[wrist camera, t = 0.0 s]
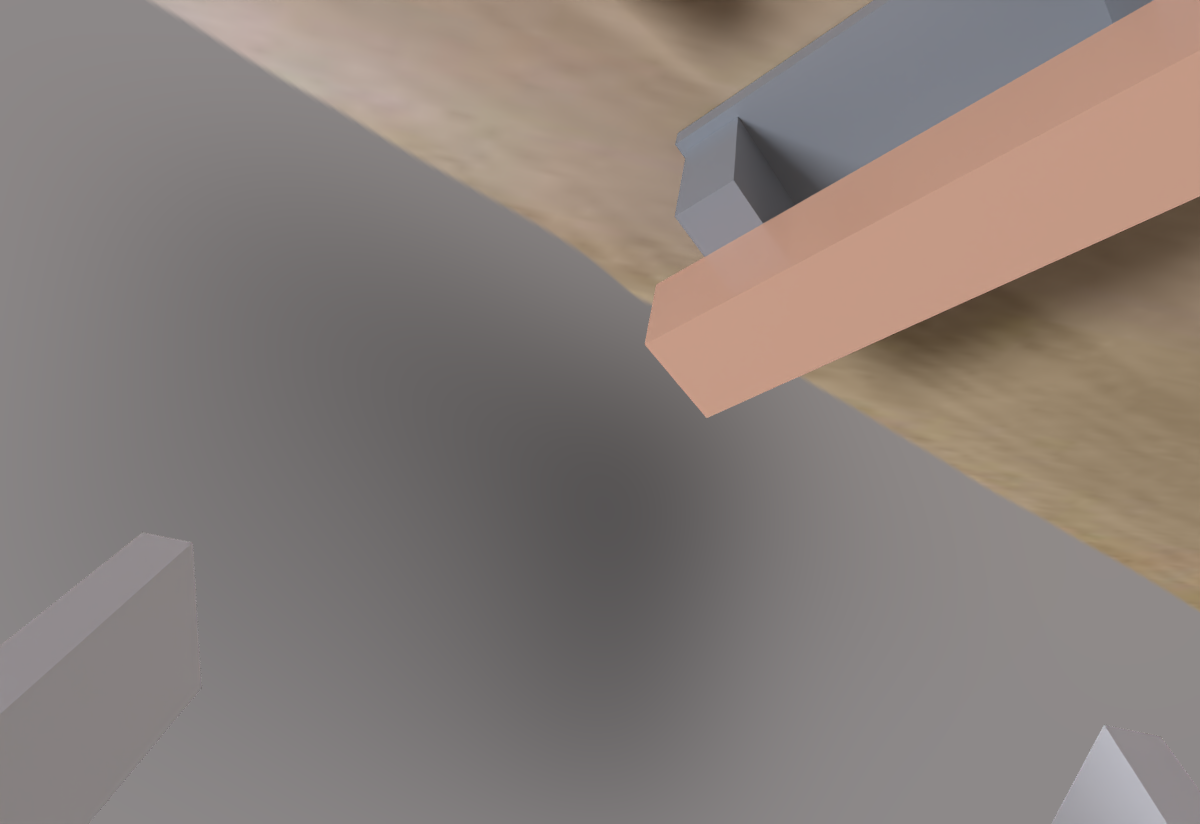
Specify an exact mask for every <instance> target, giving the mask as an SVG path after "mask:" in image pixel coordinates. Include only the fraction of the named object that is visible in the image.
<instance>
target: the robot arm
mask: <svg viewBox="0 0 1200 824" xmlns="http://www.w3.org/2000/svg"><path fill="white" fill-rule="evenodd" d="M201 688H202V685H201V668H200V652H199V637H198V621H197V605H196V589H195V574H194V558H193V543H192V542H188V541H183V540H177V539H173V538H168V537H163V536H158V535H153V534H147V533H141V534H140V535H139V536H138V537H136V538H135V539H134V540H132V541H131V542H130V543H129V544H127V545H126V546H125V547H124V548H122V549H121V550H120V551H119V552H117V553H116V554H115V555H114V556H112V557H111V558H110V559H108V560H107V561H106V562H105V563H103V564H102V565H101V566H100V567H98V568H97V569H96V570H95V571H93V572H92V573H91V574H90V575H88V576H87V577H86V578H84V579H83V580H82V581H81V582H79V583H78V584H77V585H76V586H74V587H73V588H72V589H71V590H69V591H68V592H67V593H66V594H64V595H63V596H62V597H61V598H59V599H58V600H57V601H55V602H54V603H53V604H52V605H51V606H49V607H48V608H47V609H45V610H44V611H43V612H42V613H40V614H39V615H38V616H37V617H35V618H34V619H33V620H32V621H30V622H29V623H28V624H27V625H25V626H24V627H23V628H21V629H20V630H19V631H18V632H17V633H15V634H14V635H13V636H11V637H10V638H9V639H8V640H6V641H5V642H4V643H3V644H2V645H0V824H89V823H90V821H91V820H92V819H93V818H94V817H95V816H96V814H97V813H98V812H99V811H100V810H101V808H102V807H103V806H104V805H105V804H106V802H107V801H108V800H109V799H110V797H111V796H112V795H113V794H114V793H115V792H116V790H117V789H118V788H119V787H120V786H121V784H122V783H123V782H124V781H125V780H126V778H127V777H128V776H129V775H130V774H131V772H132V771H133V770H134V769H135V768H136V766H137V765H138V764H139V763H140V762H141V760H142V759H143V758H144V757H145V756H146V754H147V753H148V752H149V751H150V749H151V748H152V747H153V746H154V745H155V744H156V742H157V741H158V740H159V739H160V737H161V736H162V735H163V734H164V733H165V732H166V730H167V729H168V728H169V727H170V726H171V724H172V723H173V722H174V721H175V720H176V718H177V717H178V716H179V715H180V714H181V712H182V711H183V710H184V709H185V707H186V706H187V705H188V704H189V703H190V702H191V700H192V699H193V698H194V697H195V696H196V694H197V693H198V692H199V691H200V689H201ZM1051 824H1200V790H1199V789H1198V788H1197V786H1196V785H1195V783H1194V782H1193V781H1192V779H1191V778H1190V776H1189V775H1188V774H1187V772H1186V771H1185V770H1184V768H1183V767H1182V766H1181V764H1180V762H1179V761H1178V760H1177V758H1176V757H1175V756H1174V754H1173V753H1172V751H1171V750H1170V749H1169V747H1168V746H1167V744H1166V743H1165V742H1164V740H1163V739H1162V737H1161V736H1157V735H1152V734H1147V733H1142V732H1137V731H1132V730H1127V729H1122V728H1117V727H1112V726H1107V725H1104V726H1103V728H1102V730H1101V732H1100V733H1099V735H1098V737H1097V739H1096V741H1095V743H1094V745H1093V747H1092V748H1091V750H1090V753H1089V754H1088V756H1087V758H1086V760H1085V762H1084V764H1083V765H1082V767H1081V769H1080V771H1079V773H1078V775H1077V777H1076V778H1075V780H1074V782H1073V784H1072V786H1071V788H1070V790H1069V792H1068V793H1067V795H1066V797H1065V799H1064V801H1063V803H1062V805H1061V806H1060V808H1059V810H1058V812H1057V814H1056V816H1055V818H1054V820H1053V822H1052V823H1051Z"/></svg>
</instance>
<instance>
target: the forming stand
mask: <svg viewBox="0 0 1200 824" xmlns="http://www.w3.org/2000/svg"><path fill="white" fill-rule="evenodd" d="M1151 1H1153V0H873V1H872V2H870V3H869V4H868V5H866V6H865V7H863V8H862V9H860V10H859V11H857V12H856V13H854V14H853V15H851V16H850V17H848V18H847V19H845V20H844V21H842V22H841V23H840V24H838V25H837V26H835V27H834V28H832V29H831V30H829V31H828V32H826V33H825V34H823V35H822V36H820V37H819V38H817V39H816V40H815V41H813V42H812V43H810V44H809V45H807V46H806V47H804V48H803V49H801V50H800V51H798V52H797V53H795V54H794V55H792V56H791V57H789V58H788V59H787V60H785V61H784V62H782V63H781V64H779V65H778V66H776V67H775V68H773V69H772V70H770V71H769V72H767V73H766V74H764V75H763V76H761V77H760V78H759V79H757V80H756V81H754V82H753V83H751V84H750V85H748V86H747V87H745V88H744V89H742V90H741V91H739V92H738V93H736V94H735V95H734V96H732V97H731V98H729V99H728V100H726V101H725V102H723V103H722V104H720V105H719V106H717V107H716V108H714V109H713V110H711V111H710V112H708V113H707V114H706V115H704V116H703V117H701V118H700V119H698V120H697V121H695V122H694V123H692V124H691V125H689V126H688V127H686V128H685V129H683V130H682V131H681V132H679V133H678V134H677V139H676V144H675V145H676V146H677V147H678V149H679V150H680V152H681V153H682V155H683V156H684V157H685V164H684V169H683V174H682V180H681V185H680V191H679V196H678V201H677V207H676V212H675V217H676V219H677V220H678V221H679V223H680V224H681V226H682V227H683V228H684V230H685V231H686V232H687V234H688V235H689V236H690V238H691V239H692V240H693V242H694V243H695V244H696V246H697V247H698V248H699V250H700V251H701V253H702V254H703V255H704V257H706V256H707V255H709V254H711V253H712V252H714V251H716V250H718V249H719V248H721V247H723V246H725V245H726V244H728V243H730V242H732V241H733V240H735V239H737V238H739V237H740V236H742V235H744V234H746V233H747V232H749V231H751V230H753V229H754V228H756V227H758V226H760V225H761V224H763V223H765V222H767V221H768V220H770V219H772V218H774V217H775V216H777V215H779V214H781V213H782V212H784V211H786V210H788V209H789V208H791V207H793V206H795V205H796V204H798V203H800V202H802V201H803V200H805V199H807V198H809V197H810V196H812V195H814V194H816V193H817V192H819V191H821V190H823V189H824V188H826V187H828V186H830V185H831V184H833V183H835V182H837V181H838V180H840V179H842V178H844V177H845V176H847V175H849V174H851V173H852V172H854V171H856V170H858V169H859V168H861V167H863V166H865V165H866V164H868V163H870V162H872V161H873V160H875V159H877V158H879V157H880V156H882V155H884V154H886V153H887V152H889V151H891V150H893V149H894V148H896V147H898V146H900V145H901V144H903V143H905V142H907V141H908V140H910V139H912V138H914V137H915V136H917V135H919V134H921V133H922V132H924V131H926V130H928V129H929V128H931V127H933V126H935V125H936V124H938V123H940V122H942V121H943V120H945V119H947V118H949V117H950V116H952V115H954V114H956V113H957V112H959V111H961V110H963V109H964V108H966V107H968V106H970V105H971V104H973V103H975V102H977V101H978V100H980V99H982V98H984V97H985V96H987V95H989V94H991V93H992V92H994V91H996V90H998V89H999V88H1001V87H1003V86H1005V85H1006V84H1008V83H1010V82H1012V81H1013V80H1015V79H1017V78H1019V77H1020V76H1022V75H1024V74H1025V73H1027V72H1029V71H1031V70H1032V69H1034V68H1036V67H1038V66H1039V65H1041V64H1043V63H1045V62H1046V61H1048V60H1050V59H1052V58H1053V57H1055V56H1057V55H1059V54H1060V53H1062V52H1064V51H1066V50H1067V49H1069V48H1071V47H1073V46H1074V45H1076V44H1078V43H1080V42H1081V41H1083V40H1085V39H1087V38H1088V37H1090V36H1092V35H1094V34H1095V33H1097V32H1099V31H1101V30H1102V29H1104V28H1106V27H1108V26H1109V25H1111V24H1113V23H1115V22H1116V21H1118V20H1120V19H1122V18H1123V17H1125V16H1127V15H1129V14H1130V13H1132V12H1134V11H1136V10H1137V9H1139V8H1141V7H1143V6H1144V5H1146V4H1148V3H1150V2H1151Z"/></svg>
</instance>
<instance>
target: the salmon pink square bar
mask: <svg viewBox="0 0 1200 824" xmlns="http://www.w3.org/2000/svg"><path fill="white" fill-rule="evenodd" d="M1199 196H1200V0H1153V1H1151V2H1150V3H1148V4H1146V5H1144V6H1143V7H1141V8H1139V9H1137V10H1136V11H1134V12H1132V13H1130V14H1129V15H1127V16H1125V17H1123V18H1122V19H1120V20H1118V21H1116V22H1115V23H1113V24H1111V25H1109V26H1108V27H1106V28H1104V29H1102V30H1101V31H1099V32H1097V33H1095V34H1094V35H1092V36H1090V37H1088V38H1087V39H1085V40H1083V41H1081V42H1080V43H1078V44H1076V45H1074V46H1073V47H1071V48H1069V49H1067V50H1066V51H1064V52H1062V53H1060V54H1059V55H1057V56H1055V57H1053V58H1052V59H1050V60H1048V61H1046V62H1045V63H1043V64H1041V65H1039V66H1038V67H1036V68H1034V69H1032V70H1031V71H1029V72H1027V73H1025V74H1024V75H1022V76H1020V77H1019V78H1017V79H1015V80H1013V81H1012V82H1010V83H1008V84H1006V85H1005V86H1003V87H1001V88H999V89H998V90H996V91H994V92H992V93H991V94H989V95H987V96H985V97H984V98H982V99H980V100H978V101H977V102H975V103H973V104H971V105H970V106H968V107H966V108H964V109H963V110H961V111H959V112H957V113H956V114H954V115H952V116H950V117H949V118H947V119H945V120H943V121H942V122H940V123H938V124H936V125H935V126H933V127H931V128H929V129H928V130H926V131H924V132H922V133H921V134H919V135H917V136H915V137H914V138H912V139H910V140H908V141H907V142H905V143H903V144H901V145H900V146H898V147H896V148H894V149H893V150H891V151H889V152H887V153H886V154H884V155H882V156H880V157H879V158H877V159H875V160H873V161H872V162H870V163H868V164H866V165H865V166H863V167H861V168H859V169H858V170H856V171H854V172H852V173H851V174H849V175H847V176H845V177H844V178H842V179H840V180H838V181H837V182H835V183H833V184H831V185H830V186H828V187H826V188H824V189H823V190H821V191H819V192H817V193H816V194H814V195H812V196H810V197H809V198H807V199H805V200H803V201H802V202H800V203H798V204H796V205H795V206H793V207H791V208H789V209H788V210H786V211H784V212H782V213H781V214H779V215H777V216H775V217H774V218H772V219H770V220H768V221H767V222H765V223H763V224H761V225H760V226H758V227H756V228H754V229H753V230H751V231H749V232H747V233H746V234H744V235H742V236H740V237H739V238H737V239H735V240H733V241H732V242H730V243H728V244H726V245H725V246H723V247H721V248H719V249H718V250H716V251H714V252H712V253H711V254H709V255H707V256H706V257H704V258H702V259H700V260H699V261H697V262H695V263H693V264H692V265H690V266H688V267H686V268H685V269H683V270H681V271H679V272H678V273H676V274H674V275H672V276H671V277H669V278H667V279H665V280H664V281H662V282H660V283H658V284H657V285H656V289H655V294H654V299H653V304H652V309H651V315H650V320H649V325H648V330H647V335H646V340H645V345H646V346H647V348H648V349H649V350H650V351H651V352H652V353H653V355H654V356H655V357H656V358H657V359H658V361H659V362H660V363H661V364H662V365H663V367H664V368H665V369H666V370H667V371H668V373H669V374H670V375H671V376H672V377H673V378H674V379H675V381H676V382H677V383H678V384H679V386H680V387H681V388H682V389H683V390H684V392H685V393H686V394H687V395H688V396H689V398H691V400H692V401H693V402H694V404H695V405H696V406H697V407H698V408H699V409H700V411H701V412H702V413H703V414H704V415H705V417H706V418H708V417H710V416H712V415H714V414H717V413H719V412H721V411H723V410H726V409H728V408H730V407H732V406H734V405H737V404H739V403H741V402H743V401H746V400H748V399H750V398H752V397H754V396H757V395H758V394H761V393H763V392H766V391H768V390H770V389H772V388H775V387H776V386H779V385H781V384H783V383H786V382H788V381H790V380H792V379H794V378H797V377H799V376H801V375H803V374H806V373H808V372H810V371H812V370H815V369H817V368H819V367H821V366H823V365H826V364H828V363H830V362H832V361H835V360H837V359H839V358H841V357H843V356H846V355H848V354H850V353H852V352H855V351H857V350H859V349H861V348H863V347H866V346H868V345H870V344H872V343H875V342H877V341H879V340H881V339H884V338H886V337H888V336H890V335H892V334H895V333H897V332H899V331H901V330H904V329H906V328H908V327H910V326H912V325H915V324H917V323H919V322H921V321H924V320H926V319H928V318H930V317H932V316H935V315H937V314H939V313H941V312H944V311H946V310H948V309H950V308H952V307H955V306H957V305H959V304H961V303H964V302H966V301H968V300H970V299H972V298H975V297H977V296H979V295H981V294H984V293H986V292H988V291H990V290H993V289H995V288H997V287H999V286H1001V285H1004V284H1006V283H1008V282H1010V281H1013V280H1015V279H1017V278H1019V277H1021V276H1024V275H1026V274H1028V273H1030V272H1033V271H1035V270H1037V269H1039V268H1041V267H1044V266H1046V265H1048V264H1050V263H1053V262H1055V261H1057V260H1059V259H1061V258H1064V257H1066V256H1068V255H1070V254H1073V253H1075V252H1077V251H1079V250H1081V249H1084V248H1086V247H1088V246H1090V245H1093V244H1095V243H1097V242H1099V241H1102V240H1104V239H1106V238H1108V237H1110V236H1113V235H1115V234H1117V233H1119V232H1122V231H1124V230H1126V229H1128V228H1130V227H1133V226H1135V225H1137V224H1139V223H1142V222H1144V221H1146V220H1148V219H1150V218H1153V217H1155V216H1157V215H1159V214H1162V213H1164V212H1166V211H1168V210H1170V209H1173V208H1175V207H1177V206H1179V205H1182V204H1184V203H1186V202H1188V201H1190V200H1193V199H1195V198H1197V197H1199Z"/></svg>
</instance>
